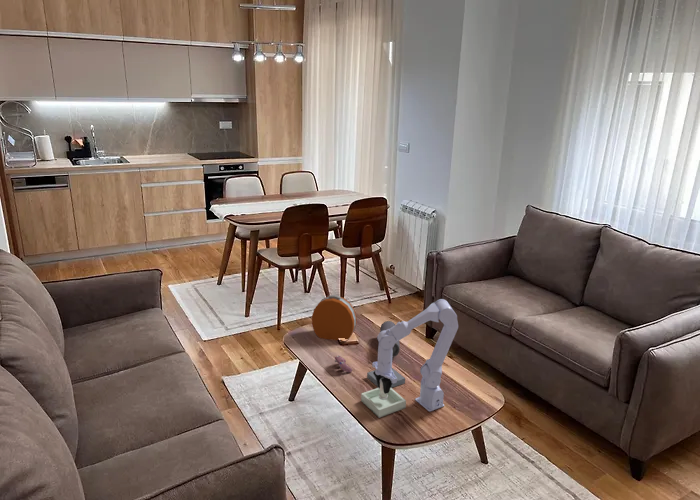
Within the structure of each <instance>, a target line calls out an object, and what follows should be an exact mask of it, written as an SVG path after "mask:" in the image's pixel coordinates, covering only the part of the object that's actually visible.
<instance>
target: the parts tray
mask: <svg viewBox="0 0 700 500" xmlns="http://www.w3.org/2000/svg"><path fill="white" fill-rule="evenodd" d="M379 393H380V389H379V388H378V387H376V388H373V389H370V390H367V391H365V392H361V396H360V401H361V402H362V403H363V405H365V406H366V407H367V408H368V409H369V410H370V411H371V412H372V413H373V414H374V415H375V416H376V417H377V418H379V419H380V418H382V417H385V416H388V415H390V414H393V413H395V412H398V411H399V412H400V411H401V410H405V409H406V408H407V406H406V405H407V400H406V399H405V398H404V397H402V395H400V393H398V392H397V391H396V390H394V388H390V391H389V393H387V394H388V398H387V399H386V400H381V399H379Z"/></svg>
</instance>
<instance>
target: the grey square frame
mask: <svg viewBox="0 0 700 500" xmlns="http://www.w3.org/2000/svg"><path fill="white" fill-rule="evenodd" d="M374 371H376V369H375V370H370V371H367V373H366V378H367V379H368V380H369V381H370V382H372V383H373V384H374V386H376V388H378V384H377V380H376V377H375V375H374V374H373V372H374ZM392 371H393V373H394V375H395V376H396V378H397V383H394V384H392V385H391V388H392V389H394V388H395V387H396V388H397V387H399V386H401V385H404V384H406V378H405V377H404V376H403V375H402V374H401V373H399V371H397V370H396V369H394V367H392Z"/></svg>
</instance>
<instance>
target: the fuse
mask: <svg viewBox="0 0 700 500" xmlns="http://www.w3.org/2000/svg"><path fill="white" fill-rule="evenodd" d="M381 379H382V378H381ZM381 379H380V393H379V399H381V400H386V399H387V398H388V394H387V393H386V394H385V393H384V390H383V383H382V380H381Z"/></svg>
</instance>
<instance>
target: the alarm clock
mask: <svg viewBox="0 0 700 500" xmlns="http://www.w3.org/2000/svg"><path fill="white" fill-rule="evenodd" d="M357 317H358V316H357V314H356V311H355V308H354V306H353V305H352V303H351V302H350V301H348V300H347V299H346V298H345V297H342V296H339V295H335V294H330V295H327V296H325V297H324V298H322V299H321V300H320V301H319V302H318V303H317V305H316V306H315V308H314V309H313V312H312V315H311V326H312V329H313V331H314V333H315V334H316V335H315V336H317V337H318V338H319V339H324V340H329V341H330V340H331V341H337V340H338V338H345V339H348V340H350V338H351V336H352V335H353V334H354V332H355V330H356V328H357V324H358V321H357Z"/></svg>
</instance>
